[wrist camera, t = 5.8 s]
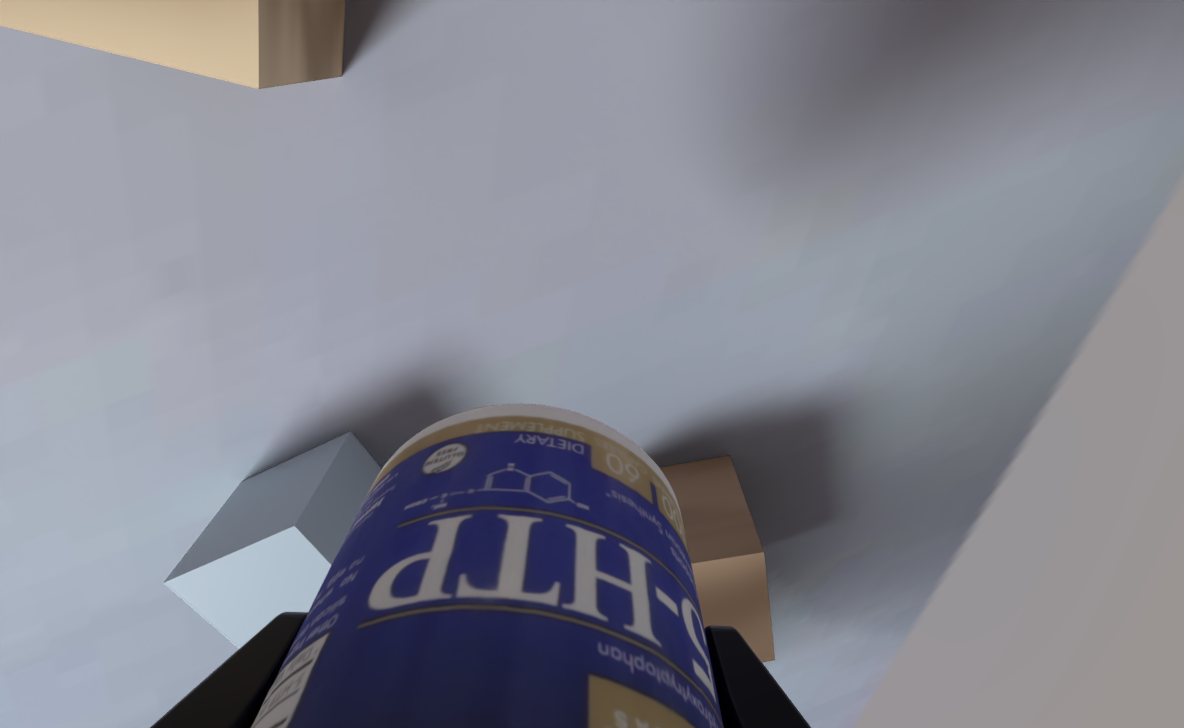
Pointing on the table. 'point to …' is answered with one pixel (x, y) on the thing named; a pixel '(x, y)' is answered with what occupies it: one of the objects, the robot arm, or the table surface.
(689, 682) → the pill bottle
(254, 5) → the oak block
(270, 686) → the robot arm
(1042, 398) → the table surface
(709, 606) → the walnut block
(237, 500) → the slate block
